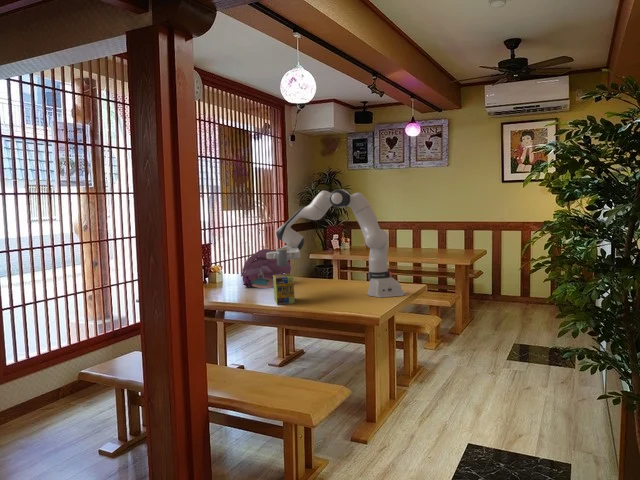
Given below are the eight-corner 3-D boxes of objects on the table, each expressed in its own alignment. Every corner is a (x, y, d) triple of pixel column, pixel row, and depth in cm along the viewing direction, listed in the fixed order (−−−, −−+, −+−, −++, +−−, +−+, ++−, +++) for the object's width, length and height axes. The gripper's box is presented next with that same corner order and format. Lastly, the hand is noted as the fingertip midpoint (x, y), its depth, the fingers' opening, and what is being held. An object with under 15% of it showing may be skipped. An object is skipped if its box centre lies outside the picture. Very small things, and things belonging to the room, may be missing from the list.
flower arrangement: (254, 297, 332) (253, 258, 324) (232, 288, 348) (231, 249, 340) (291, 284, 357) (292, 247, 349) (270, 275, 372) (269, 239, 364)
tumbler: (288, 264, 293) (287, 247, 292) (286, 266, 287) (285, 249, 286) (277, 265, 294) (276, 248, 293) (276, 266, 287) (274, 249, 286)
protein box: (277, 305, 284) (275, 278, 282) (274, 299, 299) (272, 274, 297) (295, 303, 286) (293, 276, 284) (291, 298, 301) (290, 273, 299)
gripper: (268, 249, 303) (263, 251, 290) (301, 247, 301) (298, 250, 288) (268, 259, 304) (264, 262, 290) (301, 258, 302) (298, 261, 288)
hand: (281, 256), depth 289 cm, fingers closed on tumbler, 6 cm apart
